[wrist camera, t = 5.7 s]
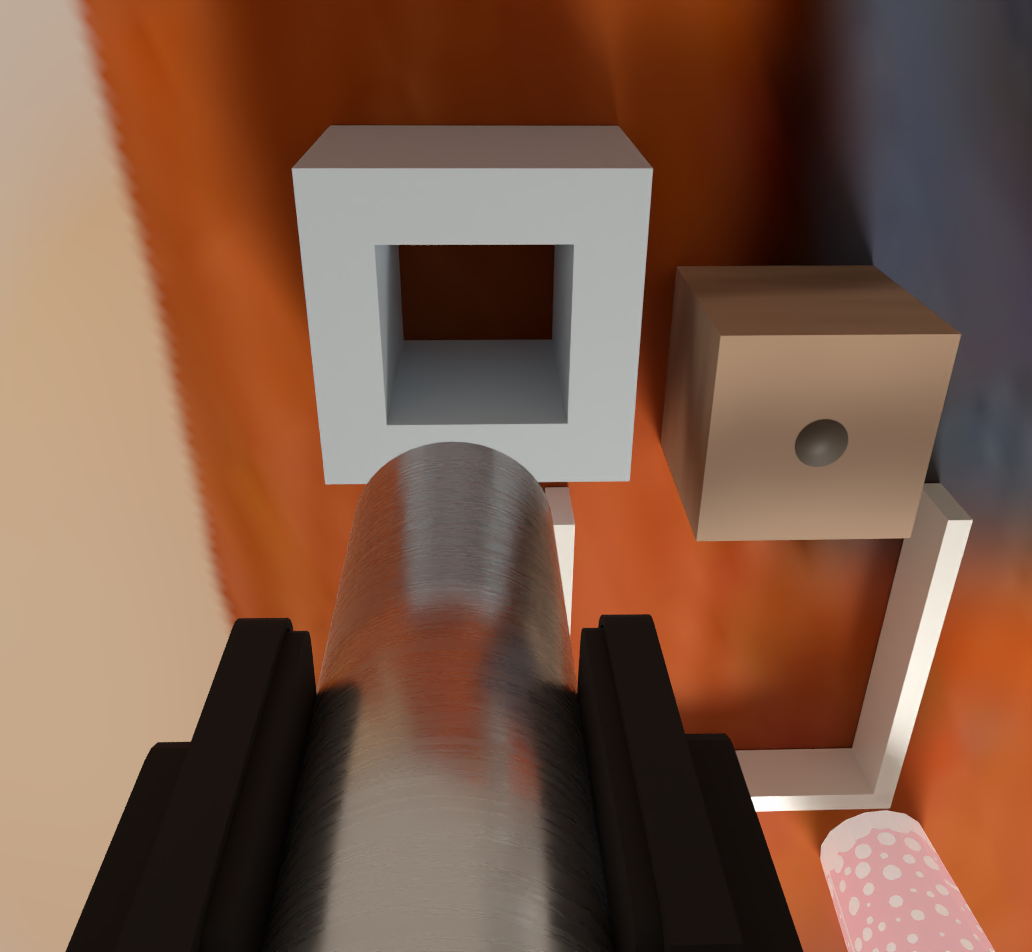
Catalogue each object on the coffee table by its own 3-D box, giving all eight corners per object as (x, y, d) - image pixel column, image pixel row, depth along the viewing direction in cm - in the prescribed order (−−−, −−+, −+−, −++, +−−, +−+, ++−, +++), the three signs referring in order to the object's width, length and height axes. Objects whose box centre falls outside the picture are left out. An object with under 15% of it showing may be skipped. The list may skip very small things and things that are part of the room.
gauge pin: (348, 441, 13) (108, 1346, 5) (556, 441, 13) (718, 1318, 5) (359, 611, 15) (197, 1553, 6) (549, 610, 15) (660, 1527, 6)
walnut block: (676, 265, 28) (720, 335, 23) (872, 264, 28) (961, 334, 23) (660, 442, 31) (696, 541, 26) (838, 440, 31) (910, 538, 26)
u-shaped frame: (545, 487, 32) (549, 524, 30) (940, 483, 32) (972, 519, 30) (538, 768, 38) (541, 815, 36) (867, 761, 38) (889, 808, 36)
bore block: (330, 125, 26) (291, 168, 21) (618, 125, 26) (653, 168, 21) (353, 391, 30) (325, 484, 24) (603, 389, 30) (629, 481, 25)
